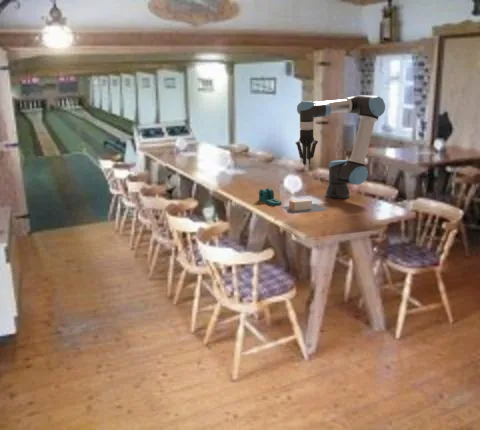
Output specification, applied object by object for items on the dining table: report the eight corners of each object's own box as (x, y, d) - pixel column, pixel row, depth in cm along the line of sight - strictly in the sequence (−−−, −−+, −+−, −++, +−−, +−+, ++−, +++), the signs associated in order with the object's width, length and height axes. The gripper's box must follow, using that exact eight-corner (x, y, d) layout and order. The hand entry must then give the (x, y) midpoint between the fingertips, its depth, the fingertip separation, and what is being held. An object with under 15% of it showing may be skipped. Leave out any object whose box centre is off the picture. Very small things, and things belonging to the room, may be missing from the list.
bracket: (259, 200, 328) (259, 188, 326) (268, 199, 331) (268, 187, 329) (273, 207, 312) (273, 194, 310) (283, 205, 315) (283, 192, 313)
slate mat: (315, 204, 316) (315, 203, 316) (327, 211, 301) (327, 210, 301) (281, 207, 310) (281, 206, 310) (292, 214, 295) (292, 213, 295)
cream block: (308, 198, 307) (289, 200, 304) (311, 200, 302) (292, 202, 299) (308, 206, 308) (289, 208, 305) (311, 209, 304) (292, 210, 301)
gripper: (314, 127, 299) (314, 168, 305) (293, 129, 295) (293, 170, 302) (320, 128, 292) (319, 170, 298) (298, 130, 288) (298, 172, 295)
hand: (306, 170), depth 300 cm, fingers closed
